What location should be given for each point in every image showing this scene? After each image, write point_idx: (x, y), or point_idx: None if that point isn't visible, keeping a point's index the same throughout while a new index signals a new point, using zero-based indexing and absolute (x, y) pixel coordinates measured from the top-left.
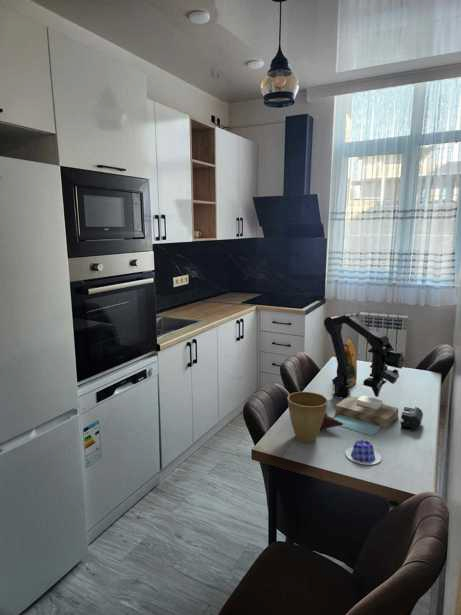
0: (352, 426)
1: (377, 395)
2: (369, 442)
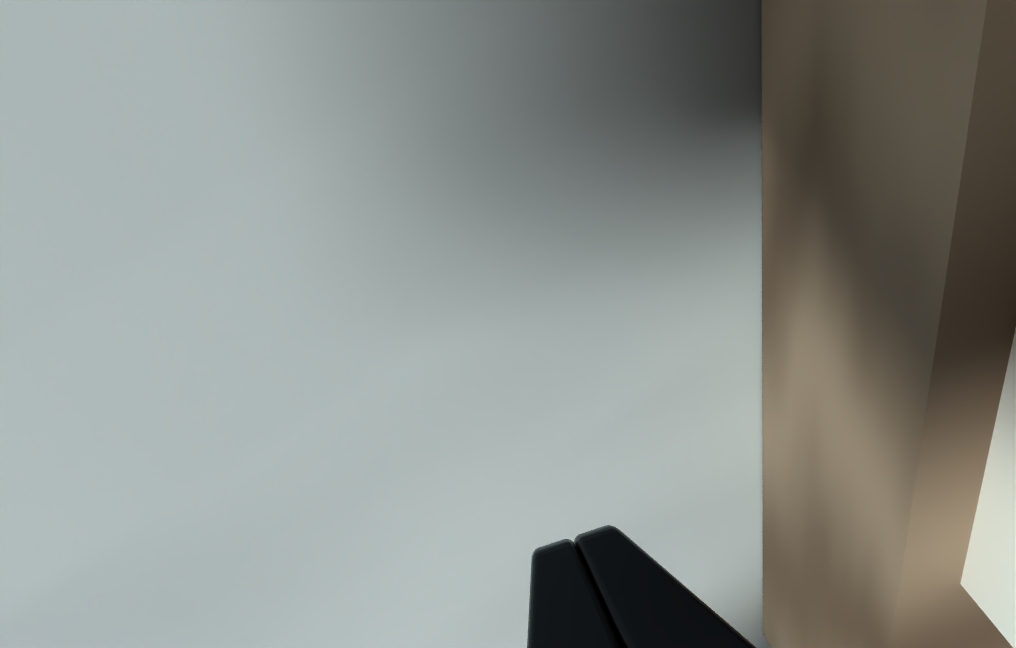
0: None
1: (665, 575)
2: None
